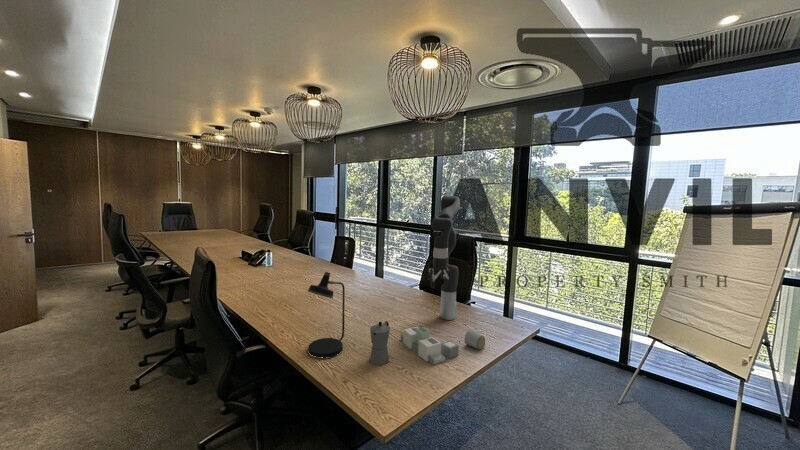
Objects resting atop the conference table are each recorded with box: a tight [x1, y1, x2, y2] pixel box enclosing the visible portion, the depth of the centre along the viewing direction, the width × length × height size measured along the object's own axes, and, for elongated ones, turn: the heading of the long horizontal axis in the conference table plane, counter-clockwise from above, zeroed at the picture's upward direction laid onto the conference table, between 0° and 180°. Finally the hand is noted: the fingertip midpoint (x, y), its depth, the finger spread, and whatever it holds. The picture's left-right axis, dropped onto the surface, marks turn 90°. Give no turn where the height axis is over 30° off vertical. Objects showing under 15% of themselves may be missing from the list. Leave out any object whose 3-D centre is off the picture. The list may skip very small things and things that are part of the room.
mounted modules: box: [402, 326, 442, 362], centre depth 153 cm, size 8×20×7 cm, turn 31°
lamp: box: [307, 271, 346, 358], centre depth 150 cm, size 16×22×38 cm
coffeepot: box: [369, 320, 391, 366], centre depth 143 cm, size 15×9×18 cm, turn 159°
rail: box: [400, 333, 446, 366], centre depth 153 cm, size 7×28×3 cm, turn 31°
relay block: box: [441, 340, 460, 360], centre depth 150 cm, size 6×6×5 cm
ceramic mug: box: [464, 329, 486, 350], centre depth 159 cm, size 11×8×8 cm
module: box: [416, 326, 430, 346], centre depth 153 cm, size 4×5×8 cm
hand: (439, 286), depth 163 cm, fingers open, 8 cm apart
